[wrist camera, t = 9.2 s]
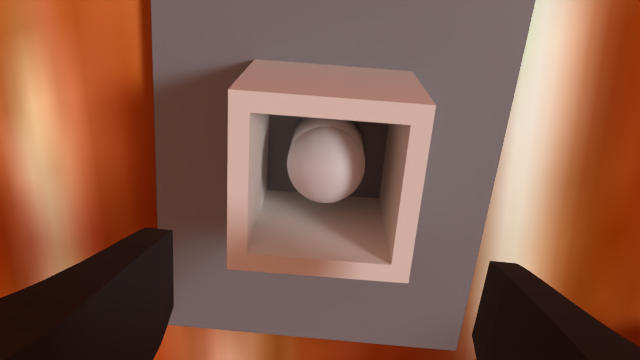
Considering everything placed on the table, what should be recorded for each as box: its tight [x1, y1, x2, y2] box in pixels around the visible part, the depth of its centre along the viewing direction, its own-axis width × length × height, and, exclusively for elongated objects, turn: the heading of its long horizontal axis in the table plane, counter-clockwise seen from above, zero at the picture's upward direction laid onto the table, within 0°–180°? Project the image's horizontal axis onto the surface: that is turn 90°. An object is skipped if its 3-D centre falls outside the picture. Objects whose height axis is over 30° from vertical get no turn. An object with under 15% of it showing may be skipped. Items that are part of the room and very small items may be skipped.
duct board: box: [151, 0, 535, 351], centre depth 19 cm, size 13×18×4 cm
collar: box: [227, 59, 436, 283], centre depth 18 cm, size 6×6×5 cm
